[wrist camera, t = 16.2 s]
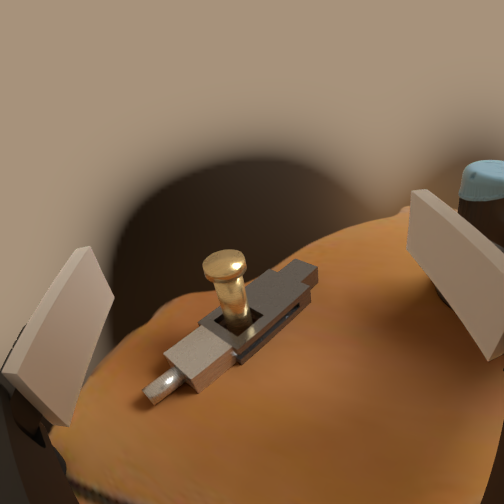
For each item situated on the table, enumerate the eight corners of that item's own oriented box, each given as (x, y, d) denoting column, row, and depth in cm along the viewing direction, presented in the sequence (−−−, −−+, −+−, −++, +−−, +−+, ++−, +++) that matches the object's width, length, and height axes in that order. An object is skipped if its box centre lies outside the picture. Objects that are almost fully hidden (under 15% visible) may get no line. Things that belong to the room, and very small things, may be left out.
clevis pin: (242, 316, 52) (225, 245, 45) (267, 330, 48) (253, 257, 41) (217, 336, 49) (194, 265, 42) (241, 352, 45) (221, 279, 38)
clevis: (288, 270, 61) (286, 255, 59) (327, 286, 55) (327, 270, 53) (137, 386, 42) (127, 372, 40) (170, 423, 36) (160, 411, 34)
